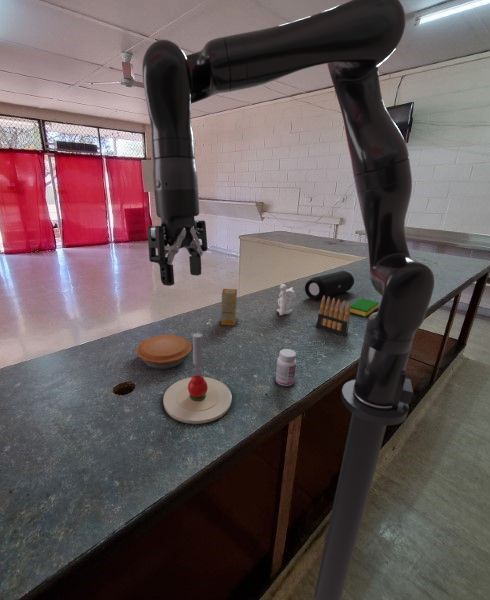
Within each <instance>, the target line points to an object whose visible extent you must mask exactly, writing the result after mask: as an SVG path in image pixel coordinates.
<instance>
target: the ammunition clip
mask: <svg viewBox="0 0 490 600" xmlns="http://www.w3.org/2000/svg"><path fill="white" fill-rule="evenodd" d="M350 305H351V301H348V302H347V305H346V301H345V299H344V300H343V301H342V303H341V299H340V298H338V299H337V302H336V298H335V297H333V298H332V300H331V296H329V297H327V299H326V298H325V295H324V296H323V298H322V299H321V302H320V306H319V312H318V315H317V319H316V325H315V327H317V328H319V329H322V330H326V331H329V332H332V333H336V334H338V335H341V336H347V335H348V332H349V323H350V316H351V312H350Z"/></svg>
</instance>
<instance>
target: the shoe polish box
mask: <svg viewBox="0 0 490 600" xmlns="http://www.w3.org/2000/svg"><path fill="white" fill-rule="evenodd" d="M237 302H238V289H235V288H222V292H221V315H220V317H221V318H220V319H221V320H220V321H221V322H220V325H221V326H232V327H235V326H236V322H237V304H238V303H237Z"/></svg>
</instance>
